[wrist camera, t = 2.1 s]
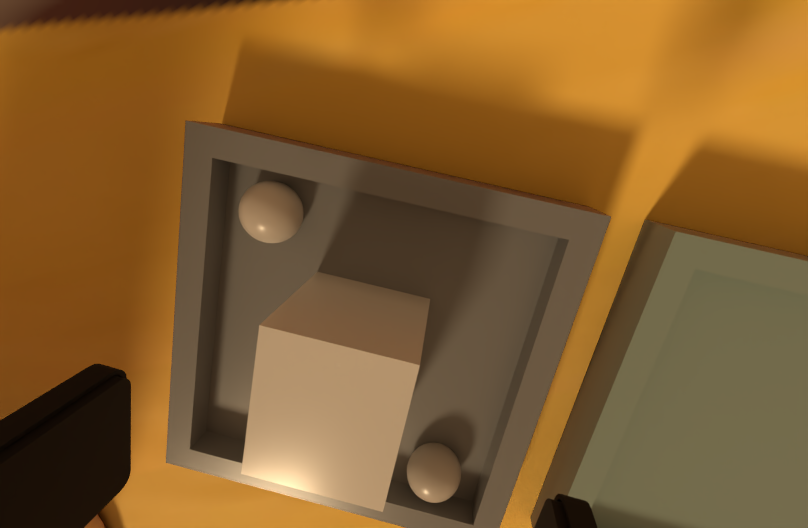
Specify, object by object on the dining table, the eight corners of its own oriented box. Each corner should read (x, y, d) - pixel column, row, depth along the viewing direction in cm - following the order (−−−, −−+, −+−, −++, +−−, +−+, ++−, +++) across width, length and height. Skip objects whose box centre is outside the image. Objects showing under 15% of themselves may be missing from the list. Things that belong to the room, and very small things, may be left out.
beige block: (402, 410, 17) (382, 512, 12) (299, 384, 18) (241, 474, 13) (430, 298, 16) (420, 365, 11) (317, 271, 16) (259, 325, 11)
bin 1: (487, 506, 19) (492, 562, 17) (196, 429, 20) (157, 471, 17) (589, 206, 15) (617, 219, 13) (221, 123, 16) (176, 119, 13)
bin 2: (847, 601, 18) (897, 660, 16) (530, 517, 19) (539, 563, 17) (1055, 312, 14) (1157, 340, 12) (645, 219, 15) (675, 231, 13)
